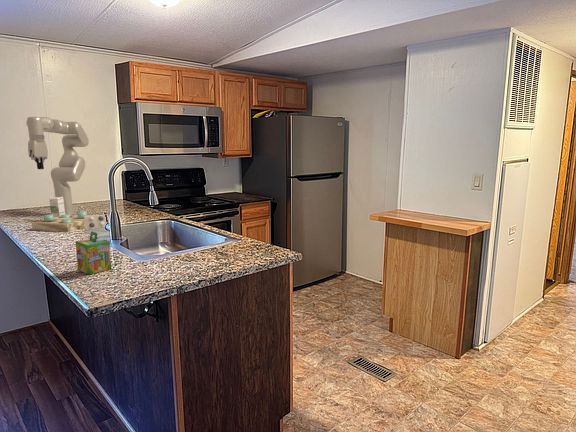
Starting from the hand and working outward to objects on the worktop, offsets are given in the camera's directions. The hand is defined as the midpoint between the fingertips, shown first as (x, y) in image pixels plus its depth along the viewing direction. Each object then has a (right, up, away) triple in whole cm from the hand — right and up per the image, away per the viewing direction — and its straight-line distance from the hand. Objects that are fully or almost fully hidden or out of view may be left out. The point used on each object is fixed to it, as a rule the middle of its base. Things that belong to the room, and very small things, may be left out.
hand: (40, 169), depth 245 cm
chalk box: (+75, -49, -89) cm, 126 cm away
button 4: (+28, -30, -6) cm, 42 cm away
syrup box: (+6, -31, +9) cm, 33 cm away
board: (+21, -34, -9) cm, 41 cm away
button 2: (+17, -32, -3) cm, 36 cm away
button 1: (+14, -32, -14) cm, 37 cm away
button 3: (+25, -34, -17) cm, 46 cm away
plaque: (+40, -35, -14) cm, 55 cm away
